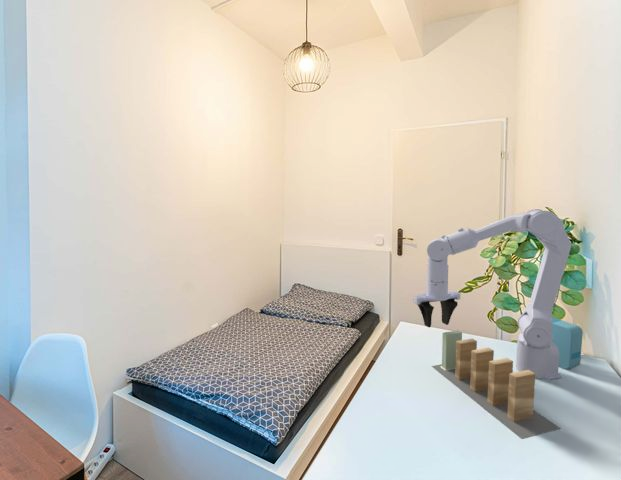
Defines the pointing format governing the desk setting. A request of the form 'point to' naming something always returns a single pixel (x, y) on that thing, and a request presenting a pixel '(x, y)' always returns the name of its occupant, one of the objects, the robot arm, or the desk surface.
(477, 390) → the domino
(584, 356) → the desk surface
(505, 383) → the domino
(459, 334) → the green domino
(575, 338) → the light blue rounded block
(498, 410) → the board
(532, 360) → the robot arm
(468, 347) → the domino
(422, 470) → the desk surface
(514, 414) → the domino
